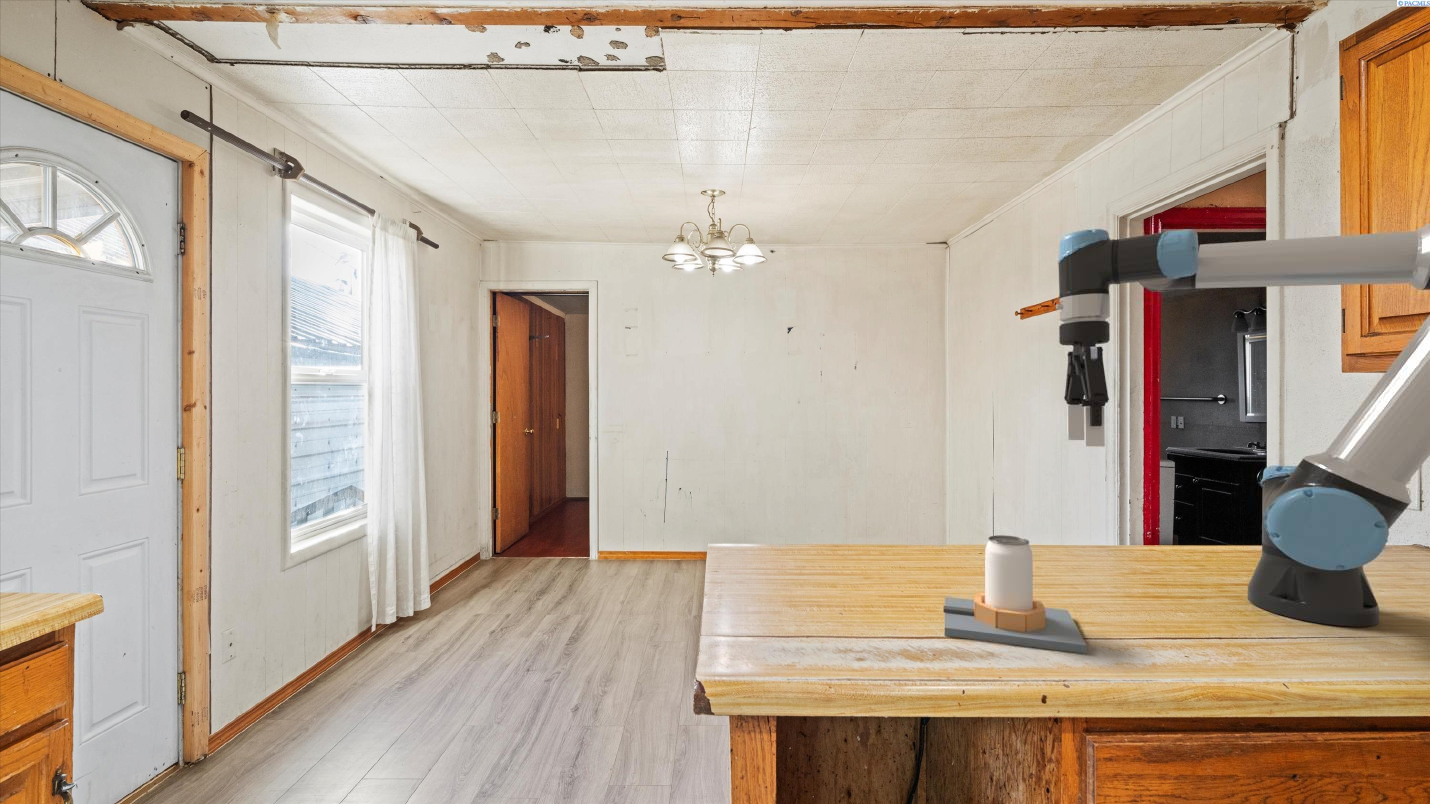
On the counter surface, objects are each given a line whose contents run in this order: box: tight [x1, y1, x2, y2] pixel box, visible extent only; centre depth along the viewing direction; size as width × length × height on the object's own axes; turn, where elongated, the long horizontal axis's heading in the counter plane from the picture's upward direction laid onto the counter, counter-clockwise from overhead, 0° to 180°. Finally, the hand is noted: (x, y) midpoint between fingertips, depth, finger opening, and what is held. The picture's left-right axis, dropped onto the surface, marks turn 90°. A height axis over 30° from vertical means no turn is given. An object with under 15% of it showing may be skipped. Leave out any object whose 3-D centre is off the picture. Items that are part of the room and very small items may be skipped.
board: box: [943, 591, 1087, 655], centre depth 92 cm, size 18×14×4 cm
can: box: [984, 534, 1034, 612], centre depth 92 cm, size 6×6×12 cm
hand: (1084, 443), depth 106 cm, fingers open, 13 cm apart
